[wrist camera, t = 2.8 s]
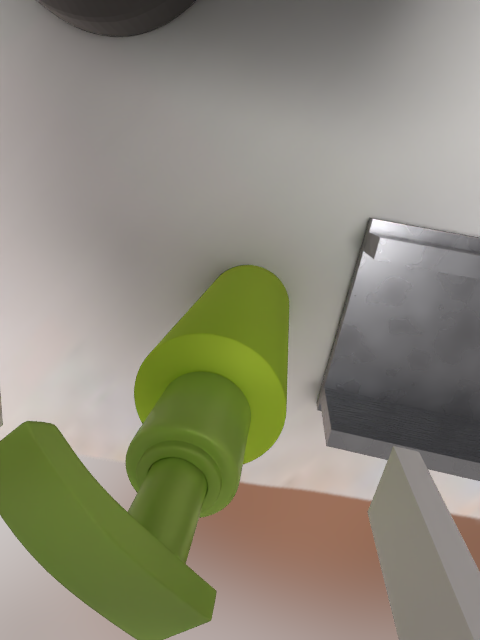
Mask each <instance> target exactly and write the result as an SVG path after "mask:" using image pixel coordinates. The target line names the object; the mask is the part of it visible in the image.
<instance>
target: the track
mask: <svg viewBox="0 0 480 640" xmlns="http://www.w3.org/2000/svg"><path fill="white" fill-rule="evenodd" d="M317 409H318V410H319V411H322V417H323V425H324V432H325V439H326V446H329V447H334V448H338V449H342V450H347V451H351V452H355V453H360V454H364V455H368V456H373V457H377V458H382V459H386V460H388V459H389V456H390V454H391V451H392V448H393V446H396V447H400V448H405V449H409V450H414V451H418V452H419V453H420V455H421V457H422V459H423V461H424V463H425V465H426V467H427V469H430V470H434V471H438V472H443V473H447V474H451V475H456V476H460V477H464V478H469V479H473V480H478V481H480V238H478V237H472V236H467V235H461V234H456V233H450V232H445V231H439V230H433V229H428V228H422V227H417V226H411V225H406V224H400V223H395V222H389V221H384V220H378V219H372V218H370V219H369V222H368V226H367V229H366V233H365V236H364V240H363V243H362V247H361V250H360V254H359V257H358V261H357V264H356V268H355V271H354V275H353V278H352V282H351V285H350V289H349V292H348V296H347V299H346V303H345V306H344V310H343V313H342V317H341V320H340V324H339V327H338V331H337V334H336V338H335V341H334V345H333V348H332V351H331V355H330V358H329V362H328V365H327V369H326V372H325V376H324V379H323V383H322V386H321V390H320V393H319V397H318V400H317Z"/></svg>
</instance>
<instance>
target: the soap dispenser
mask: <svg viewBox="0 0 480 640" xmlns="http://www.w3.org/2000/svg"><path fill="white" fill-rule="evenodd" d="M288 331H289V298H288V294H287V292H286V289H285V287H284V285H283V284H282V282H281V281H280V280H279V279H278V278H277V277H276V276H275V275H274V274H273V273H271V272H270V271H268V270H266V269H264V268H261V267H258V266H253V265H242V266H237V267H234V268H231V269H229V270H227V271H225V272H224V273H223V274H221V275H220V276H219V277H218V278H217V279H216V281H215V282H214V283H213V284H212V285H211V286H210V287H209V288H208V289H207V290H206V292H205V293H204V294H203V295H202V296H201V297H200V298H199V299H198V300H197V302H196V303H195V304H194V305H193V306H192V307H191V308H190V309H189V310H188V312H187V313H186V314H185V315H184V316H183V317H182V318H181V319H180V320H179V322H178V323H177V324H176V325H175V326H174V327H173V328H172V329H171V330H170V332H169V333H168V334H167V335H166V336H165V337H164V338H163V339H162V340H161V342H160V343H159V344H158V345H157V346H156V347H155V348H154V349H153V350H152V352H151V353H150V354H149V355H148V356H147V357H146V359H145V360H144V361H143V363H142V365H141V367H140V369H139V371H138V374H137V377H136V381H135V387H134V398H135V405H136V409H137V412H138V415H139V418H140V420H141V422H142V426H141V427H140V429H139V430H138V432H137V433H136V435H135V437H134V438H133V440H132V442H131V443H130V445H129V448H128V451H127V454H126V470H127V474H128V477H129V480H130V482H131V484H132V486H133V487H134V489H135V490H136V492H137V495H136V497H135V499H134V501H133V503H132V505H131V507H130V508H129V510H128V512H127V511H126V510H125V509H124V508H122V507H121V506H120V505H119V504H118V503H117V502H116V501H115V500H114V499H113V498H112V497H111V496H110V495H109V494H108V493H107V491H106V490H105V489H104V488H103V487H102V486H101V485H100V484H99V483H98V482H97V480H96V479H95V478H94V477H93V476H92V475H91V473H90V472H89V471H88V470H87V469H86V467H85V466H84V465H83V463H82V462H81V461H80V459H79V458H78V457H77V455H76V454H75V453H74V451H73V450H72V448H71V447H70V445H69V444H68V442H67V441H66V440H65V438H64V437H63V435H62V434H61V432H60V431H59V430H58V428H57V427H56V426H55V425H54V424H51V423H45V422H37V421H26V422H24V423H22V424H21V425H20V426H19V427H17V428H16V429H15V430H13V431H12V432H11V433H10V434H8V435H7V436H6V437H5V438H3V439H2V440H1V441H0V515H1V517H2V518H3V520H4V521H5V522H6V524H7V525H8V527H9V528H10V529H11V531H12V532H13V533H14V535H15V536H16V537H17V539H18V540H19V541H20V542H21V543H22V545H23V546H24V547H25V548H26V549H27V551H28V552H29V553H30V554H31V555H32V556H33V557H34V558H35V559H36V560H37V561H38V563H40V564H41V566H43V568H44V569H45V570H46V571H48V572H49V573H50V574H51V575H52V576H53V577H54V578H55V579H56V580H57V581H58V582H60V583H61V584H62V585H63V586H64V587H65V588H67V589H68V590H69V591H70V592H71V593H73V594H74V595H75V596H76V597H78V598H79V599H80V600H82V601H83V602H84V603H85V604H87V605H88V606H89V607H91V608H92V609H94V610H95V611H96V612H98V613H99V614H100V615H102V616H103V617H105V618H106V619H108V620H109V621H110V622H112V623H113V624H115V625H116V626H118V627H119V628H120V629H122V630H123V631H125V632H126V633H128V634H129V635H131V636H132V637H134V638H135V639H137V640H163V639H166V638H169V637H171V636H174V635H176V634H179V633H181V632H184V631H186V630H189V629H192V628H194V627H197V626H199V625H202V624H204V623H207V622H209V621H211V619H212V613H213V609H214V603H215V598H216V590H215V589H214V588H212V587H211V586H210V585H209V584H208V583H207V582H206V581H204V580H203V579H202V578H201V577H200V576H199V575H197V574H196V573H195V572H194V571H193V570H192V569H191V568H189V567H188V566H187V565H186V560H187V557H188V553H189V550H190V546H191V543H192V540H193V536H194V533H195V529H196V526H197V522H198V519H199V518H201V517H206V516H209V515H212V514H215V513H216V512H218V511H220V510H222V509H223V508H224V507H226V506H227V505H228V504H229V503H230V502H231V500H232V499H233V497H234V496H235V493H236V491H237V489H238V486H239V481H240V476H241V471H242V466H243V464H245V463H248V462H250V461H253V460H255V459H256V458H258V457H260V456H261V455H263V454H264V453H265V452H266V451H267V450H269V449H270V448H271V446H272V445H273V444H274V443H275V442H276V440H277V439H278V437H279V435H280V433H281V431H282V429H283V426H284V422H285V418H286V404H287V368H288Z"/></svg>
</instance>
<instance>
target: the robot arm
mask: <svg viewBox="0 0 480 640" xmlns="http://www.w3.org/2000/svg"><path fill="white" fill-rule="evenodd" d="M36 1H38V2H39V3H40V4H41V5H43V6H44V7H45V8H47V9H48V10H49V11H51V12H52V13H53V14H55V15H56V16H58V17H59V18H60V19H62V20H64V21H65V22H67V23H69V24H71V25H73V26H75V27H77V28H80V29H82V30H85V31H88V32H91V33H95V34H100V35H106V36H130V35H136V34H141V33H144V32H148V31H150V30H153V29H156V28H158V27H160V26H162V25H164V24H166V23H168V22H169V21H171V20H173V19H174V18H176V17H177V16H178V15H180V14H181V13H182V12H184V11H185V10H186V9H187V8H188V7H189V6H191V5H192V4H193V3H194V2H195V1H196V0H36ZM2 425H3V419H2V406H1V393H0V427H1V426H2ZM368 516H369V520H370V524H371V528H372V532H373V536H374V540H375V544H376V549H377V552H378V556H379V560H380V565H381V569H382V573H383V577H384V581H385V585H386V589H387V594H388V598H389V602H390V606H391V610H392V614H393V618H394V622H395V626H396V630H397V634H398V638H399V640H480V572H479V570H478V568H477V566H476V564H475V562H474V560H473V558H472V556H471V554H470V552H469V550H468V548H467V546H466V544H465V542H464V540H463V538H462V536H461V534H460V533H459V530H458V528H457V526H456V524H455V523H454V520H453V519H452V516H451V514H450V512H449V510H448V509H447V507H446V505H445V503H444V501H443V499H442V497H441V495H440V493H439V491H438V489H437V487H436V485H435V483H434V481H433V479H432V477H431V475H430V473H429V471H428V469H427V467H426V465H425V463H424V461H423V459H422V457H421V455H420V453H419V452H418V451H414V450H409V449H405V448H400V447H396V446H393V448H392V451H391V454H390V456H389V459H388V461H387V464H386V466H385V469H384V472H383V474H382V477H381V479H380V482H379V484H378V487H377V490H376V492H375V495H374V497H373V500H372V502H371V505H370V508H369V510H368Z"/></svg>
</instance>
